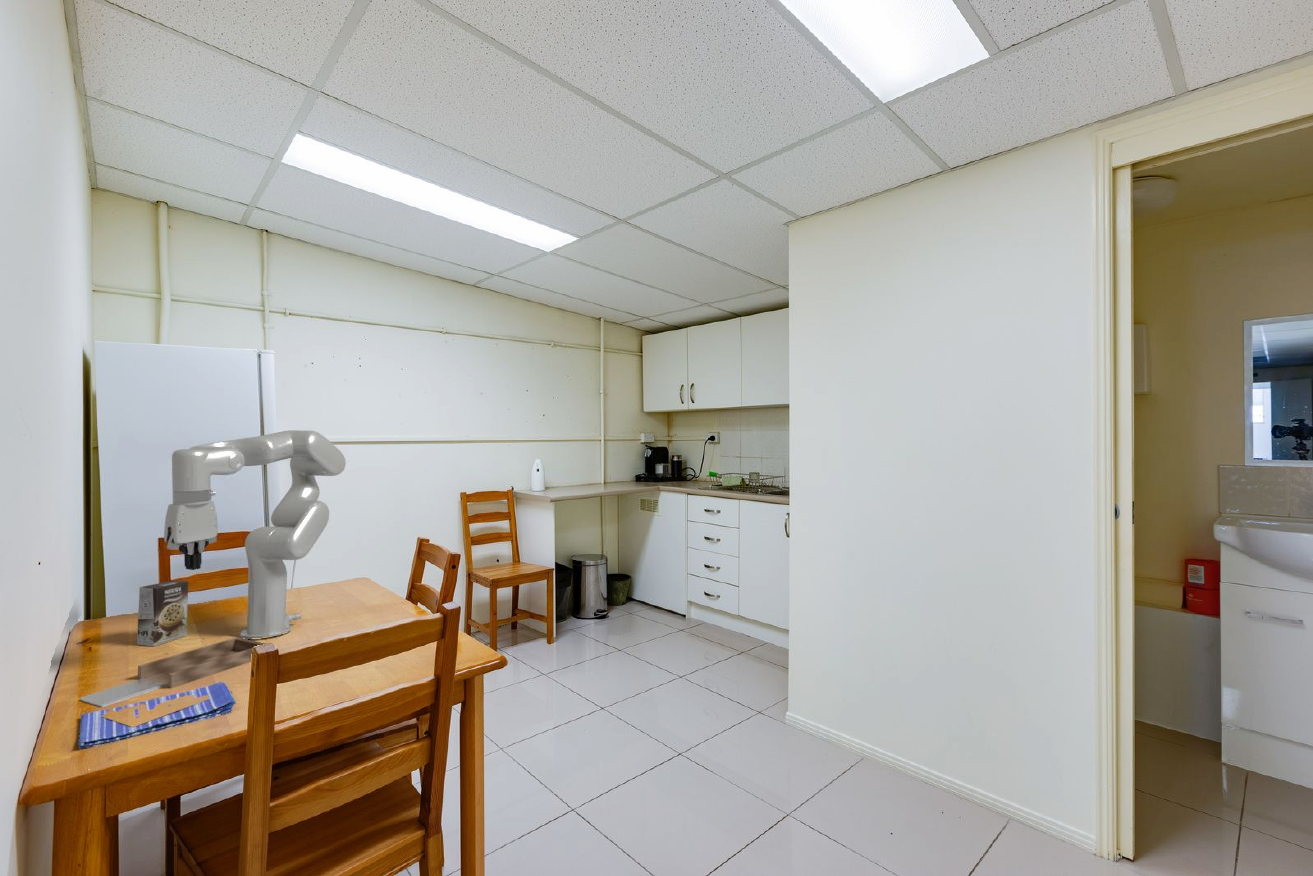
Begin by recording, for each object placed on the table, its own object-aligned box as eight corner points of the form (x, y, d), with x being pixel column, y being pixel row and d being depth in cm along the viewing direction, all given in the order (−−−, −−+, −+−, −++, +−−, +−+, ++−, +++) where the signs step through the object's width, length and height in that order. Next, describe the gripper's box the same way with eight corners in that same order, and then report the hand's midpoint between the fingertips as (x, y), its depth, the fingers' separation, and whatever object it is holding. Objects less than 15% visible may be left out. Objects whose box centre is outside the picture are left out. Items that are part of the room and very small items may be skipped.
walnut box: (236, 651, 154) (237, 637, 154) (268, 658, 149) (269, 644, 149) (137, 682, 133) (138, 665, 133) (171, 691, 128) (171, 674, 128)
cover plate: (142, 686, 132) (142, 678, 132) (163, 692, 129) (163, 683, 129) (80, 706, 122) (80, 697, 122) (102, 713, 119) (102, 704, 119)
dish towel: (237, 714, 120) (237, 700, 120) (76, 755, 103) (77, 739, 103) (225, 688, 132) (225, 676, 132) (80, 721, 115) (80, 707, 115)
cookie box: (154, 647, 156) (156, 588, 156) (135, 645, 157) (137, 586, 157) (187, 636, 165) (189, 580, 165) (170, 634, 166) (171, 579, 166)
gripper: (214, 493, 152) (215, 560, 153) (147, 500, 138) (149, 574, 139) (232, 494, 149) (233, 563, 150) (166, 502, 135) (168, 578, 136)
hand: (193, 568), depth 144 cm, fingers closed
